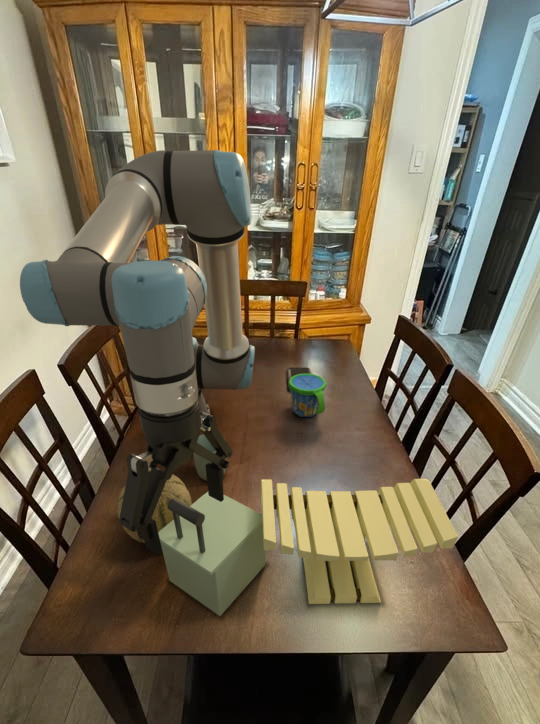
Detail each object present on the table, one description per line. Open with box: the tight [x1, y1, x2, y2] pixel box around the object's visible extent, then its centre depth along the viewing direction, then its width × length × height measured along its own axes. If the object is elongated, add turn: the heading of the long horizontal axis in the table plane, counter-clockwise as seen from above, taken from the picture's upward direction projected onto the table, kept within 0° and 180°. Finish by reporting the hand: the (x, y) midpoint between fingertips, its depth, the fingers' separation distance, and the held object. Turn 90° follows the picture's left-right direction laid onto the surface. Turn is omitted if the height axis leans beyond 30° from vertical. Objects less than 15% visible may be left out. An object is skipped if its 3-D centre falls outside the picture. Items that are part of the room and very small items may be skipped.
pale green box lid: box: [158, 491, 263, 575], centre depth 68 cm, size 14×13×9 cm
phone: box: [287, 366, 311, 390], centre depth 140 cm, size 8×1×15 cm
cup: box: [192, 433, 228, 482], centre depth 99 cm, size 8×8×10 cm
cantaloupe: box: [116, 473, 193, 544], centre depth 83 cm, size 15×15×15 cm
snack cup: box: [288, 373, 327, 418], centre depth 122 cm, size 16×10×10 cm
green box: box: [161, 523, 266, 617], centre depth 76 cm, size 14×13×13 cm
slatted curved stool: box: [260, 478, 459, 605], centre depth 75 cm, size 30×16×18 cm, turn 92°
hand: (187, 522), depth 64 cm, fingers open, 13 cm apart
